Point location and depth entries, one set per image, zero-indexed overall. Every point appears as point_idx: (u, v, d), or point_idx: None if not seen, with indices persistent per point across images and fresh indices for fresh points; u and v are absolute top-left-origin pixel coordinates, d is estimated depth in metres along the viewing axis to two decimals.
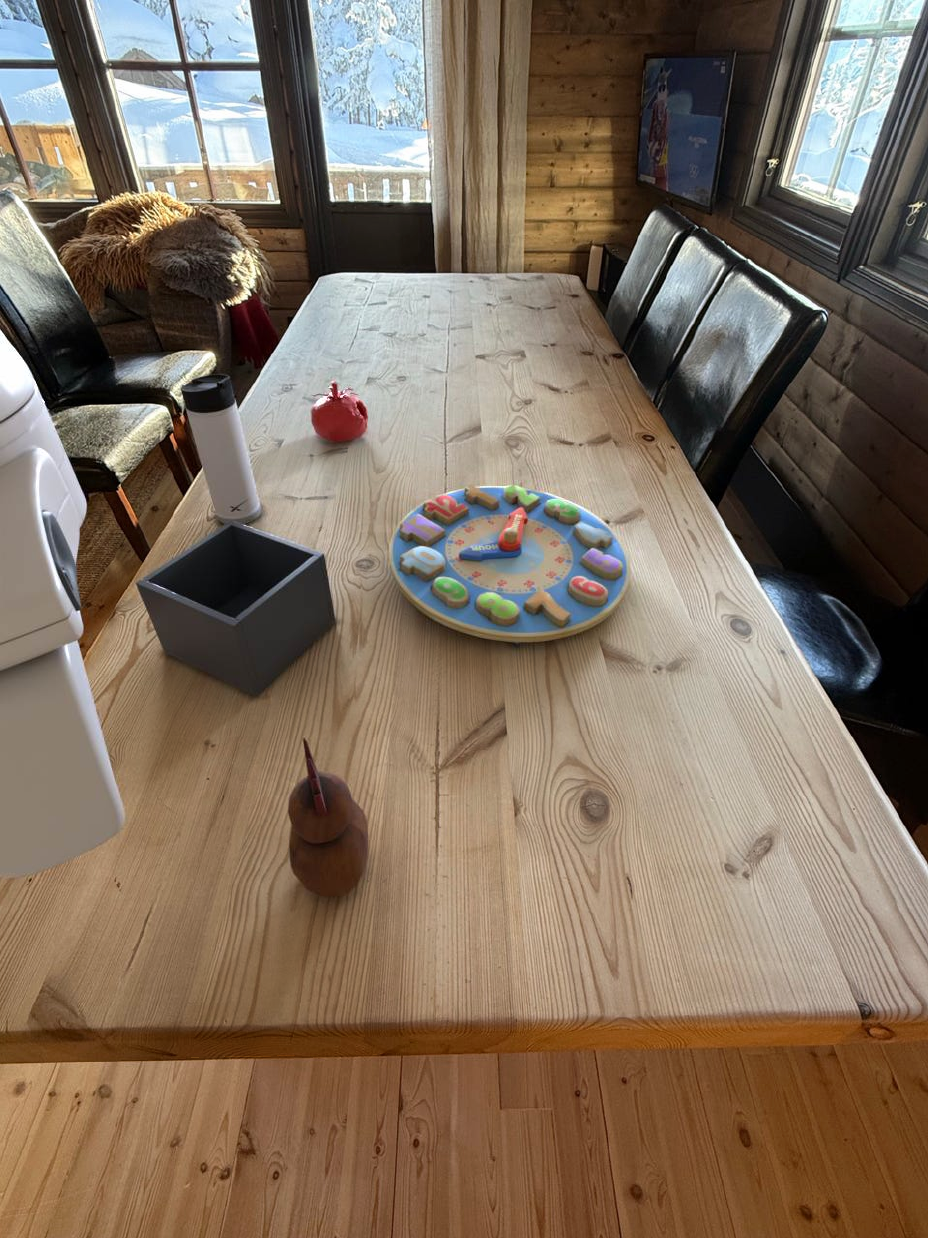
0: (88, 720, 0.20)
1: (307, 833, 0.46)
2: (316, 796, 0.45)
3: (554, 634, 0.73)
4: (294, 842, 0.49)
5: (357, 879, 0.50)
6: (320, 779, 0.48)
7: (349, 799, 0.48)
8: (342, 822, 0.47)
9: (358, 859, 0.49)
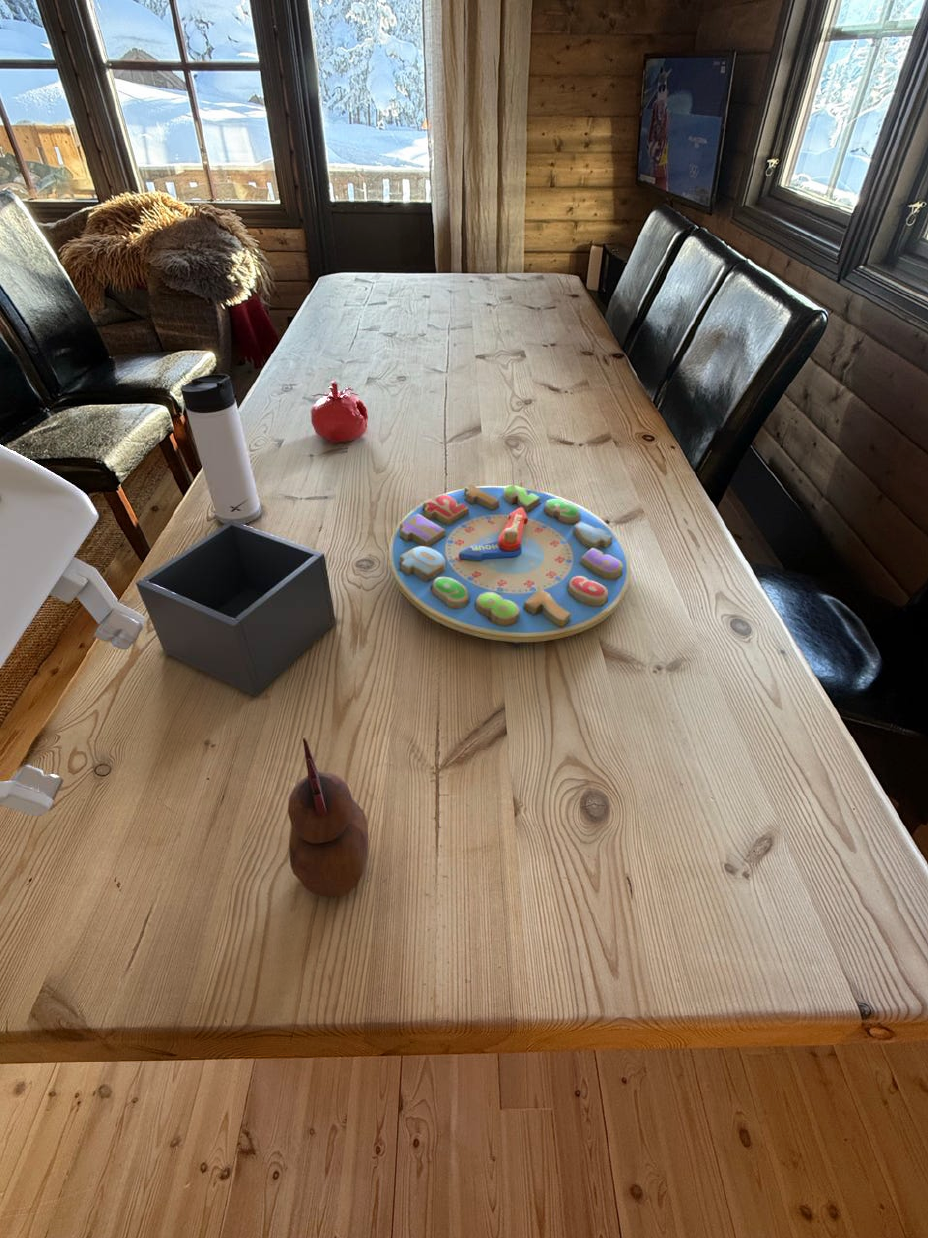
0: None
1: (307, 833, 0.46)
2: (316, 796, 0.45)
3: (554, 634, 0.73)
4: (294, 842, 0.49)
5: (357, 879, 0.50)
6: (320, 779, 0.48)
7: (349, 799, 0.48)
8: (342, 822, 0.47)
9: (358, 859, 0.49)
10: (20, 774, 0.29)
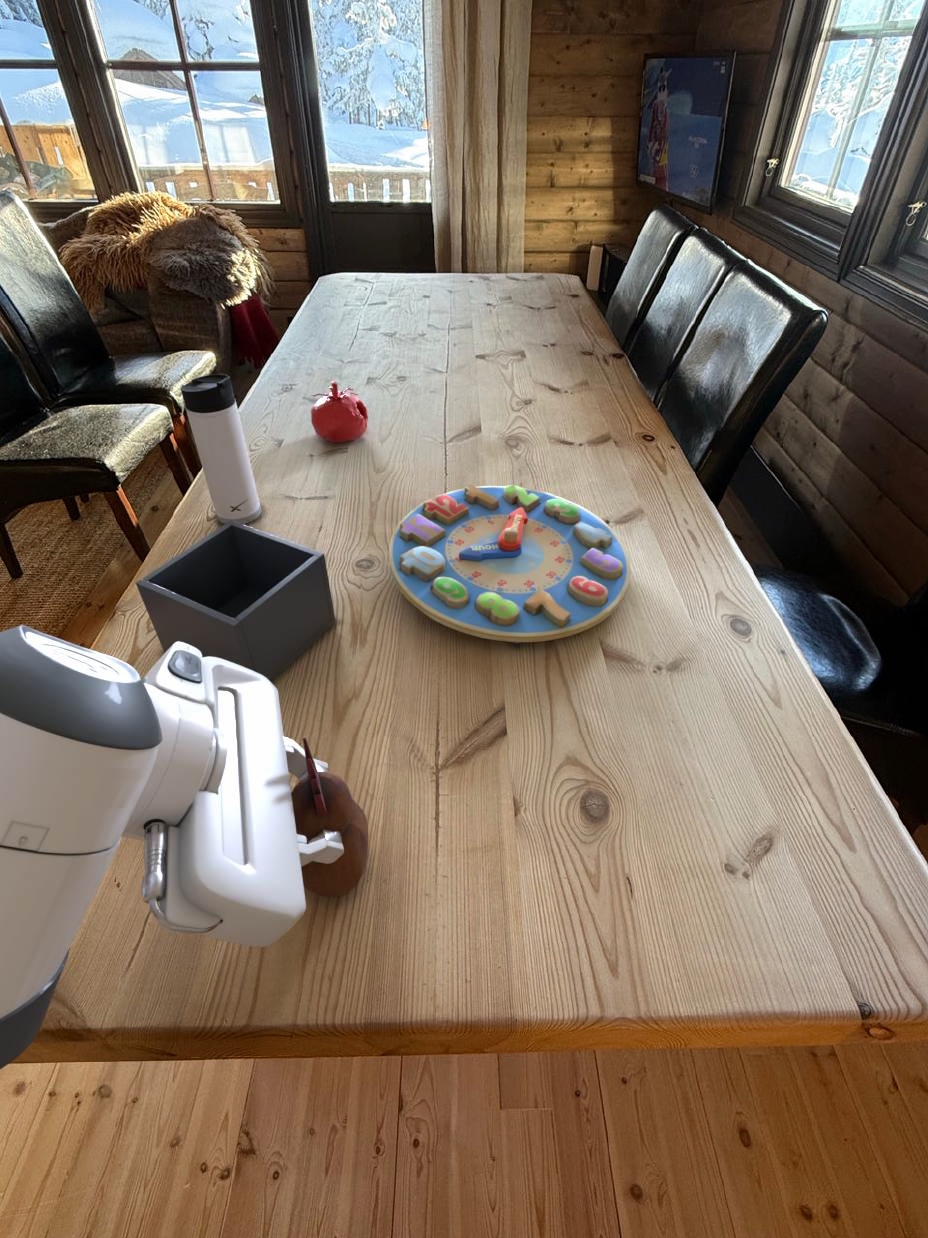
0: None
1: (308, 833, 0.46)
2: (316, 796, 0.45)
3: (554, 634, 0.73)
4: None
5: (357, 879, 0.50)
6: (320, 779, 0.48)
7: (349, 799, 0.48)
8: (342, 822, 0.47)
9: (358, 859, 0.49)
10: (323, 834, 0.45)
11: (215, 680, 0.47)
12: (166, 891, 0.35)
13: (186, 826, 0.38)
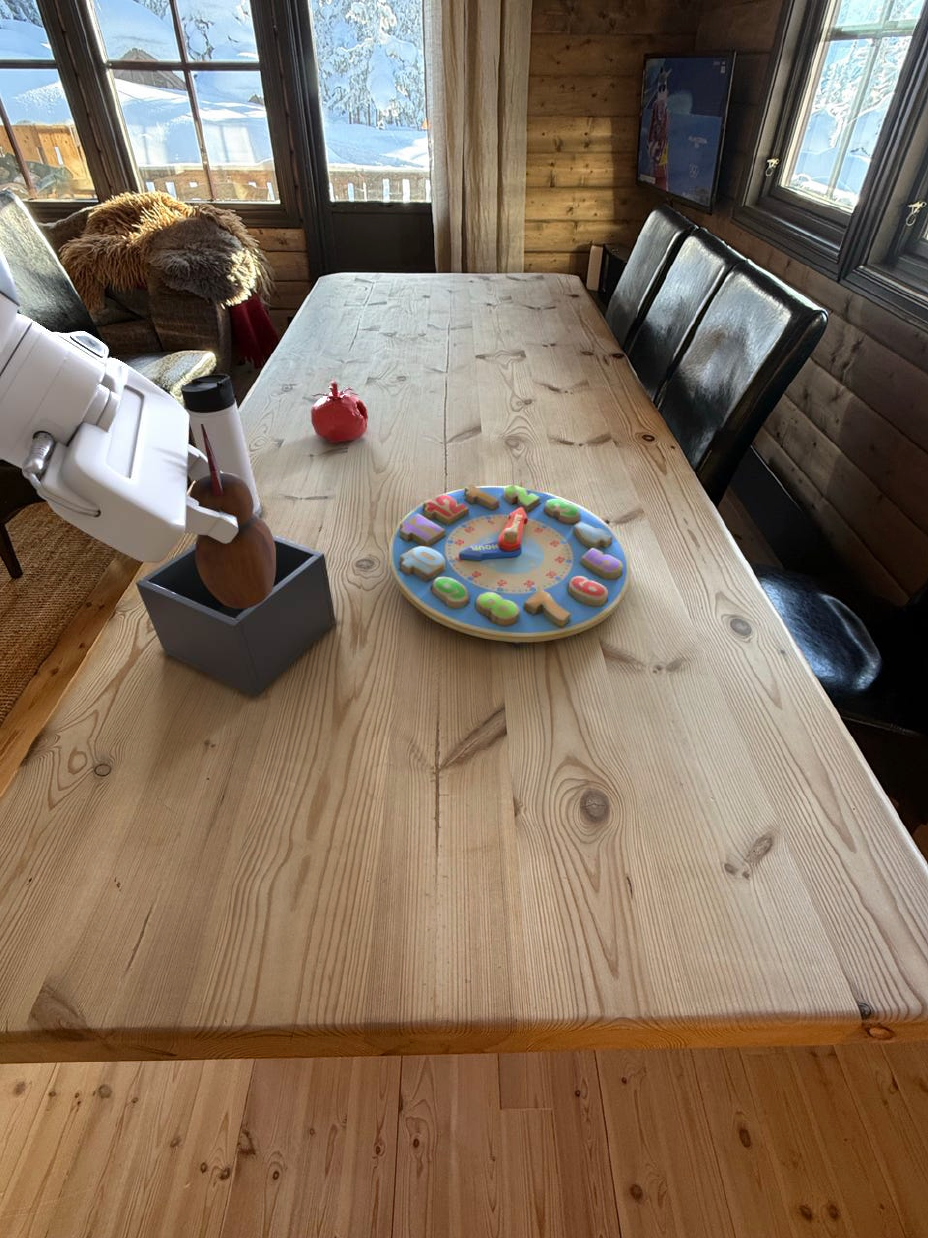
0: None
1: None
2: (211, 471, 0.48)
3: (554, 634, 0.73)
4: (198, 538, 0.52)
5: (260, 583, 0.54)
6: (221, 474, 0.51)
7: (247, 492, 0.51)
8: (239, 508, 0.50)
9: (259, 559, 0.53)
10: (218, 511, 0.49)
11: (122, 377, 0.51)
12: (45, 472, 0.38)
13: (72, 441, 0.41)
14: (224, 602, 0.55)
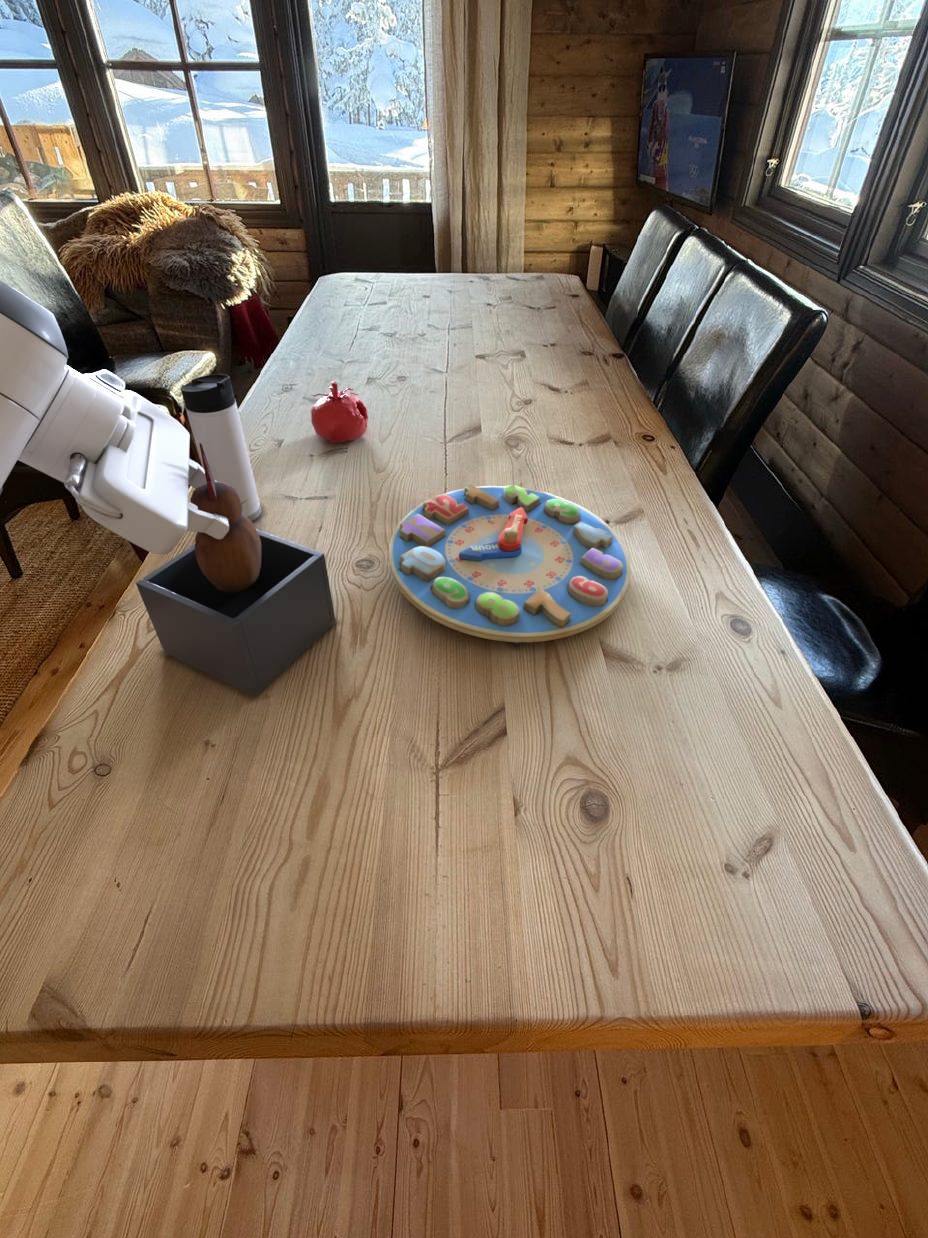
0: None
1: None
2: (207, 481, 0.61)
3: (554, 634, 0.73)
4: (197, 535, 0.64)
5: (248, 571, 0.66)
6: (215, 483, 0.64)
7: (237, 498, 0.64)
8: (230, 510, 0.63)
9: (247, 551, 0.65)
10: (213, 513, 0.61)
11: (135, 405, 0.63)
12: (81, 485, 0.51)
13: (100, 460, 0.53)
14: (218, 587, 0.67)
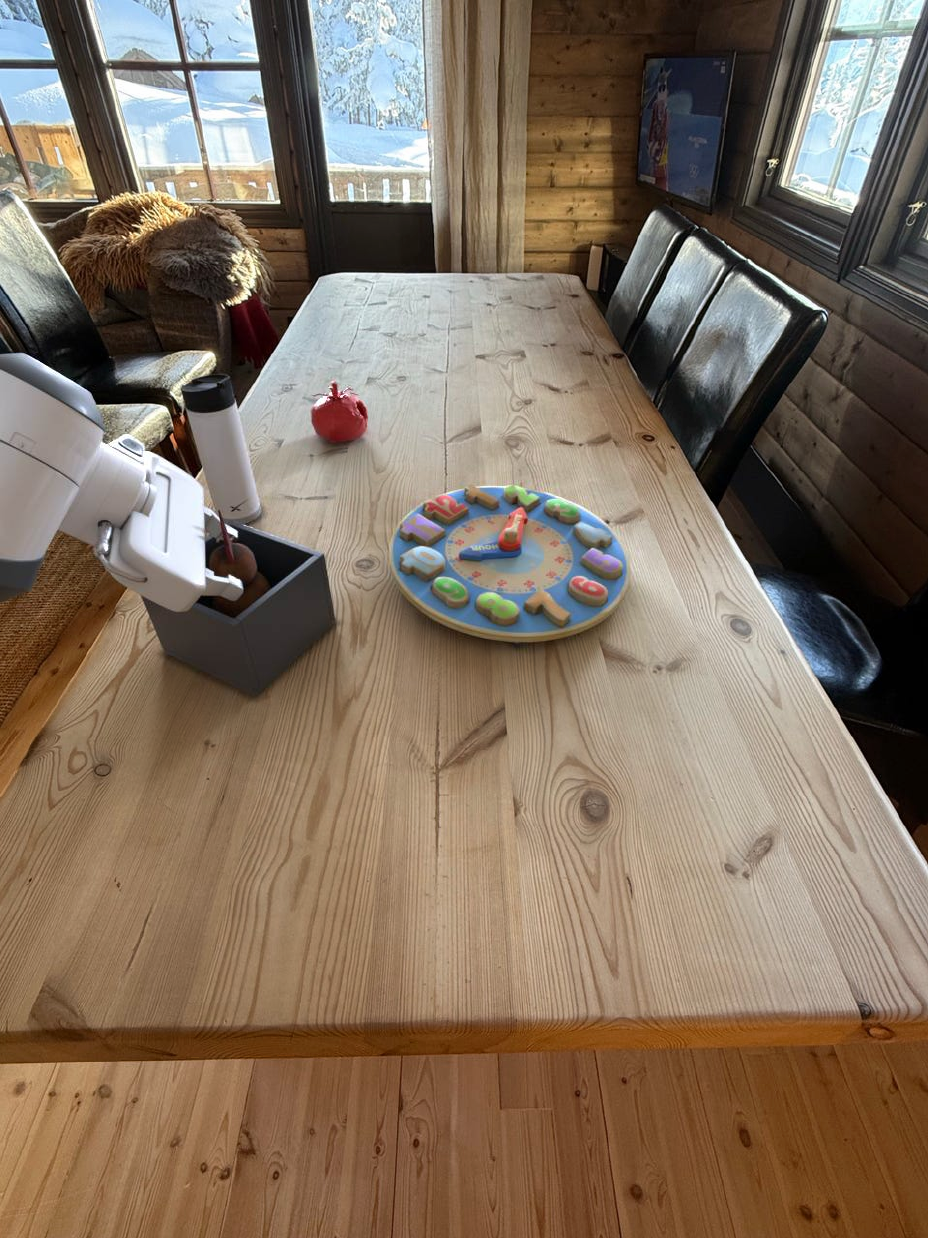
0: None
1: (221, 576, 0.67)
2: (225, 546, 0.66)
3: (554, 634, 0.73)
4: None
5: None
6: (232, 545, 0.68)
7: (252, 559, 0.68)
8: (246, 571, 0.68)
9: None
10: (228, 577, 0.65)
11: (154, 466, 0.67)
12: (110, 552, 0.55)
13: (125, 526, 0.58)
14: None
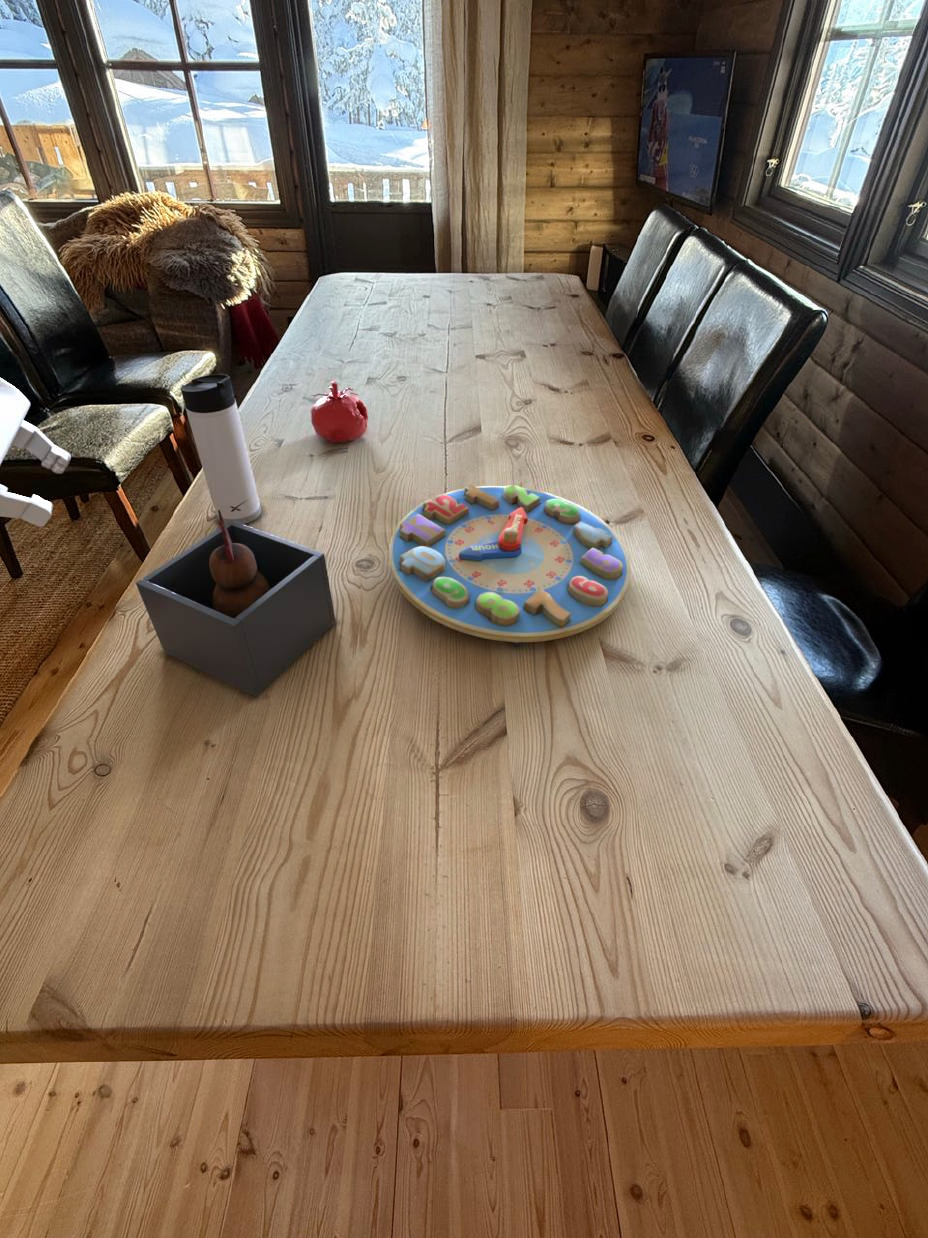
0: None
1: (221, 576, 0.67)
2: (225, 546, 0.66)
3: (554, 634, 0.73)
4: (215, 592, 0.69)
5: None
6: (232, 545, 0.68)
7: (252, 559, 0.68)
8: (246, 571, 0.68)
9: None
10: (31, 497, 0.54)
11: None
12: None
13: None
14: None
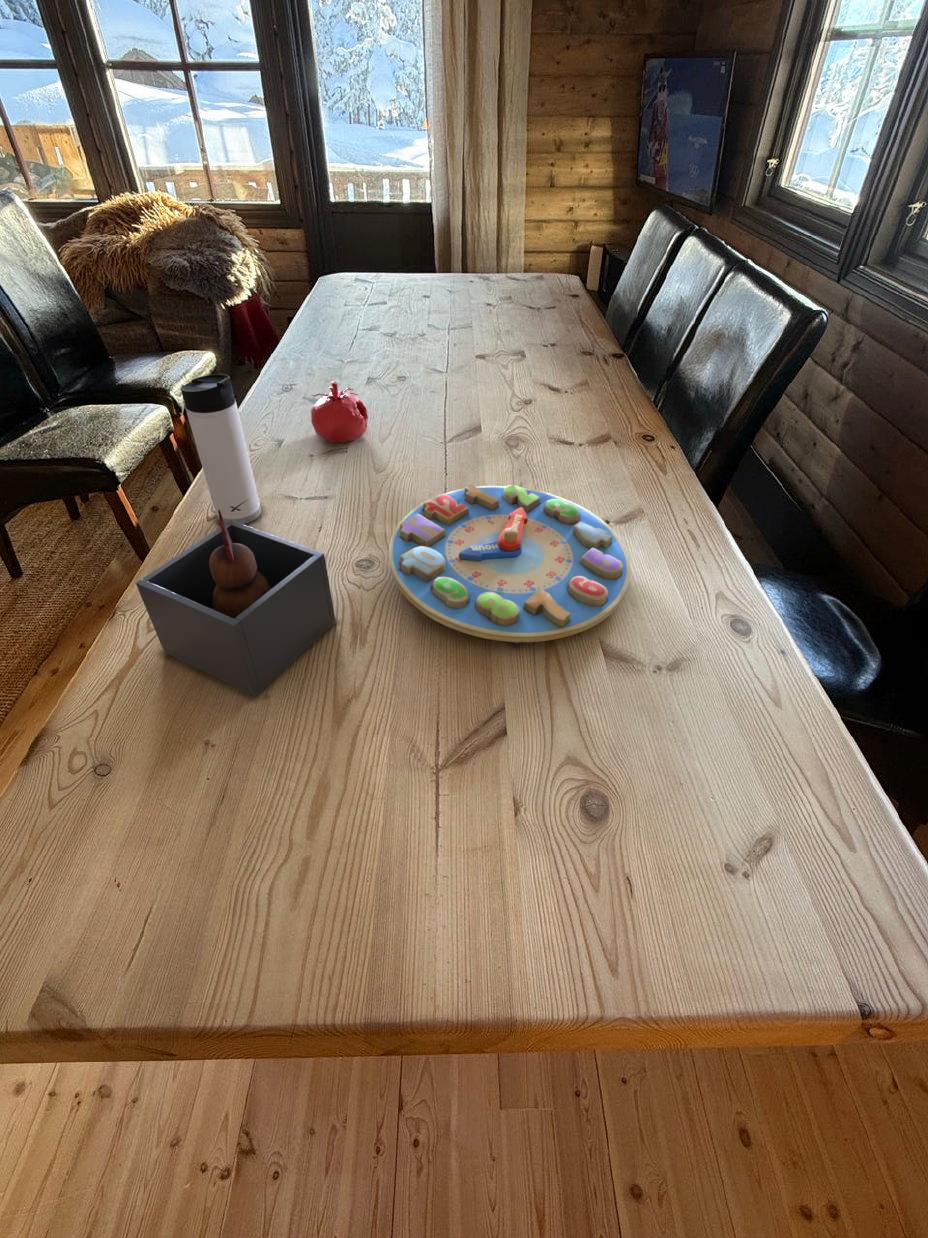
0: None
1: (221, 576, 0.67)
2: (225, 546, 0.66)
3: (554, 634, 0.73)
4: (215, 592, 0.69)
5: None
6: (232, 545, 0.68)
7: (252, 559, 0.68)
8: (246, 571, 0.68)
9: None
10: None
11: None
12: None
13: None
14: None
